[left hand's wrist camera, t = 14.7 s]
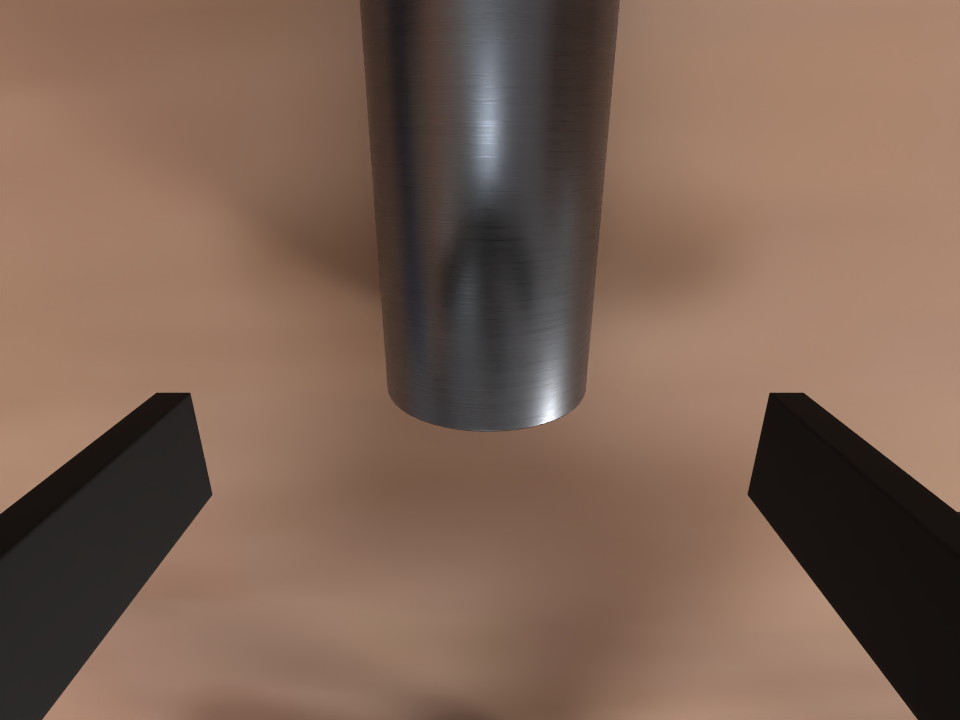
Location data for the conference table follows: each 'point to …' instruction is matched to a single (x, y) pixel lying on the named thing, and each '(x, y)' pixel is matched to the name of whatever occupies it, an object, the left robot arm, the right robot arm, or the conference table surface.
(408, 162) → the rod
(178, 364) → the conference table surface
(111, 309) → the conference table surface
